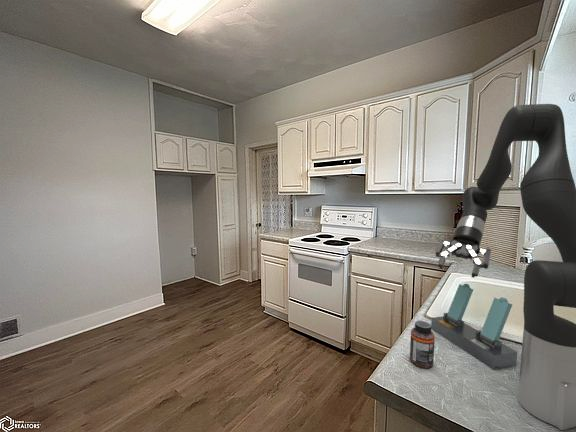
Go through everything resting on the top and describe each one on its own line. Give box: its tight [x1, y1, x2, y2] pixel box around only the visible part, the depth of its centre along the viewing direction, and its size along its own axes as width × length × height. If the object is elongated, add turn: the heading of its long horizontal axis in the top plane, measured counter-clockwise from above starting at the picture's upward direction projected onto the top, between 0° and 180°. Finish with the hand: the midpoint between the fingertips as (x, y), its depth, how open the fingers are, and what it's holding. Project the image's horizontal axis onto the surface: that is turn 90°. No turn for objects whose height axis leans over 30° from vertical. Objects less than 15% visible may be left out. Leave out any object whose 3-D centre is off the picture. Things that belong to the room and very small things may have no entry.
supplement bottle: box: [409, 320, 436, 369], centre depth 72 cm, size 6×6×11 cm
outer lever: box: [446, 283, 474, 325], centre depth 87 cm, size 4×2×14 cm, turn 13°
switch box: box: [430, 312, 518, 370], centre depth 81 cm, size 22×8×6 cm, turn 13°
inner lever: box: [479, 296, 513, 346], centre depth 75 cm, size 4×2×14 cm, turn 13°
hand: (456, 271), depth 79 cm, fingers open, 8 cm apart
